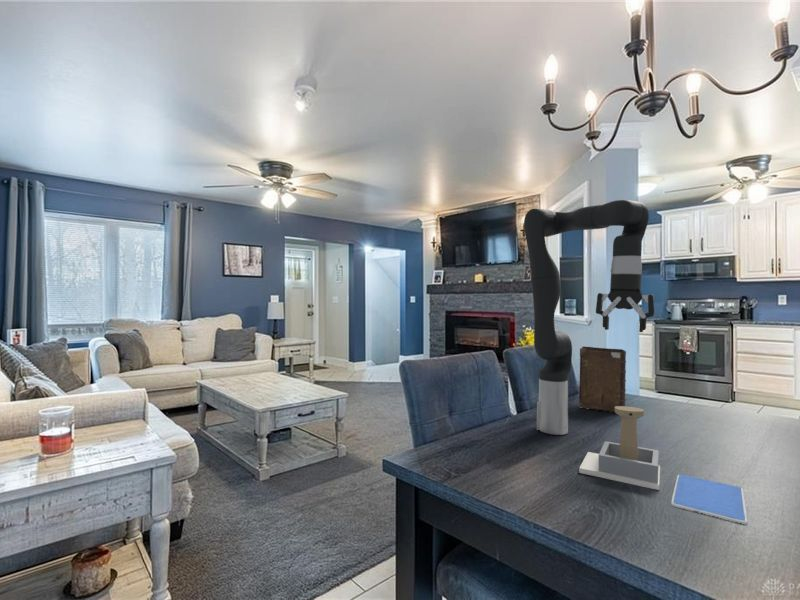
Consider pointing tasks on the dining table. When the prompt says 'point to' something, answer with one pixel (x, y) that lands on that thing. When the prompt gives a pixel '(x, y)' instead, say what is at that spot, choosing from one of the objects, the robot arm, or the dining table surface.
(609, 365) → the book
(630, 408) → the handle
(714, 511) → the tablet computer
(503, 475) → the dining table surface
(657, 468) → the open box
